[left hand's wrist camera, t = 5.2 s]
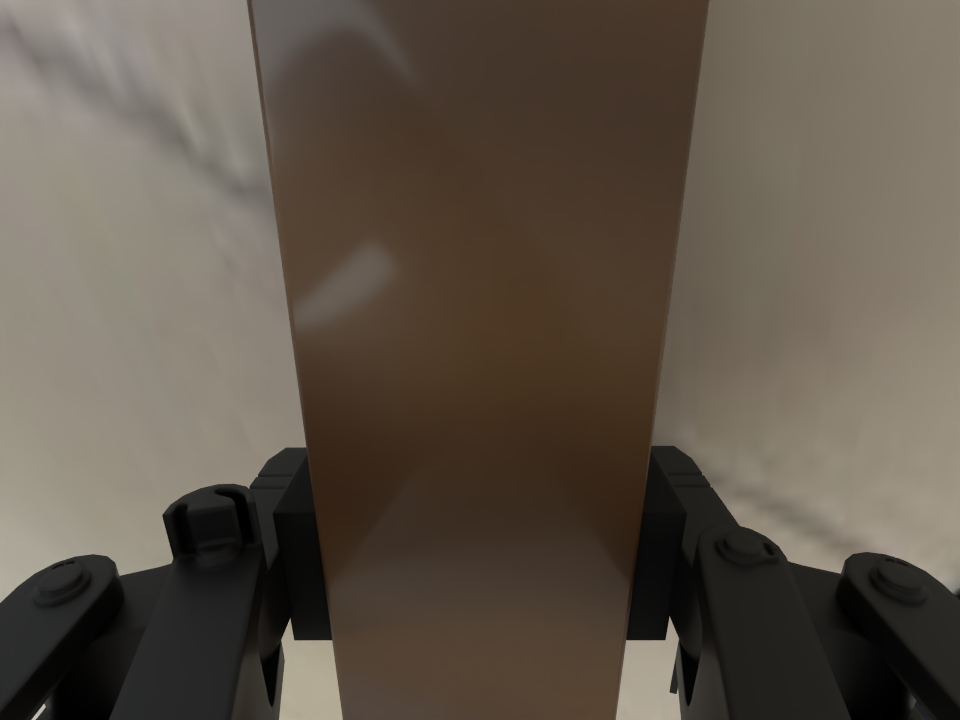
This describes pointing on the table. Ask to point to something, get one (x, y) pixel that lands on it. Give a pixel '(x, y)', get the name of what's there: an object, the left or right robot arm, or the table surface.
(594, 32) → the post
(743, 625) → the left robot arm
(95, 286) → the table surface
